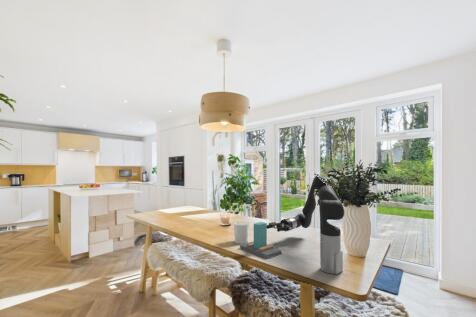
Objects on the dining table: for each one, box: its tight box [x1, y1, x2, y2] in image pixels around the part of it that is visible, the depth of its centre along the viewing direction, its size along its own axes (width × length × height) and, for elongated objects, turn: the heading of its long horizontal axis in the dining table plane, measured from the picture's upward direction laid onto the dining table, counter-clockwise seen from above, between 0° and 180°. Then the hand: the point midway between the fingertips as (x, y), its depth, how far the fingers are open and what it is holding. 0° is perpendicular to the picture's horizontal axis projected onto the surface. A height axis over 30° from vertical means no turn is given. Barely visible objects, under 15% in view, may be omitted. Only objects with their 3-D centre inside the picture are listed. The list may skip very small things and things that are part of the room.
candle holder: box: [233, 221, 250, 245], centre depth 161 cm, size 10×10×12 cm
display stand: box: [239, 240, 282, 260], centre depth 143 cm, size 22×12×4 cm, turn 41°
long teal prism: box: [253, 221, 268, 249], centre depth 144 cm, size 4×6×14 cm
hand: (272, 228), depth 151 cm, fingers open, 8 cm apart
